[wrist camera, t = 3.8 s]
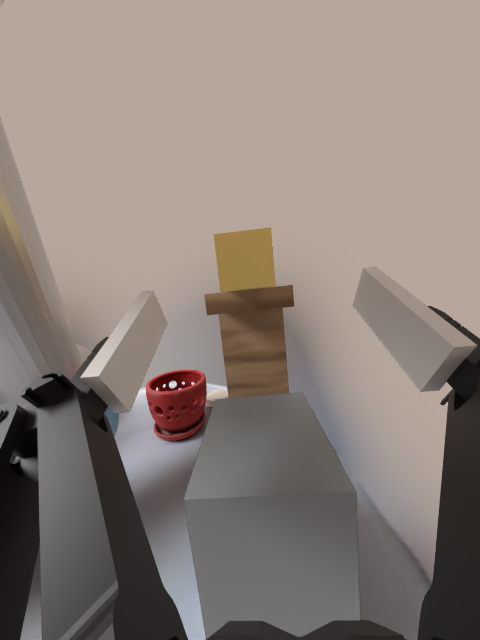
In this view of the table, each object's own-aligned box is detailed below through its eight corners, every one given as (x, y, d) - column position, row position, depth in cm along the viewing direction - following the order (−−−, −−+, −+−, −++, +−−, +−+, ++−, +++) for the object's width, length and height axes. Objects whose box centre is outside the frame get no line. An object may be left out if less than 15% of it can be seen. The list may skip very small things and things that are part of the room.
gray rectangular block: (363, 721, 14) (356, 491, 12) (219, 720, 15) (183, 500, 12) (312, 528, 25) (303, 392, 23) (232, 532, 26) (215, 399, 24)
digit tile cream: (203, 406, 57) (202, 398, 57) (217, 396, 62) (216, 388, 62) (220, 411, 54) (218, 402, 53) (233, 400, 59) (232, 392, 58)
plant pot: (174, 457, 39) (164, 398, 38) (143, 432, 48) (134, 383, 46) (222, 420, 49) (216, 373, 47) (189, 405, 58) (183, 364, 56)
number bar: (275, 285, 15) (270, 227, 14) (220, 291, 15) (213, 234, 14) (259, 289, 36) (257, 266, 36) (237, 291, 37) (234, 268, 36)
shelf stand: (308, 515, 27) (292, 285, 23) (233, 519, 27) (204, 294, 23) (285, 429, 44) (274, 287, 40) (239, 432, 44) (223, 293, 40)
